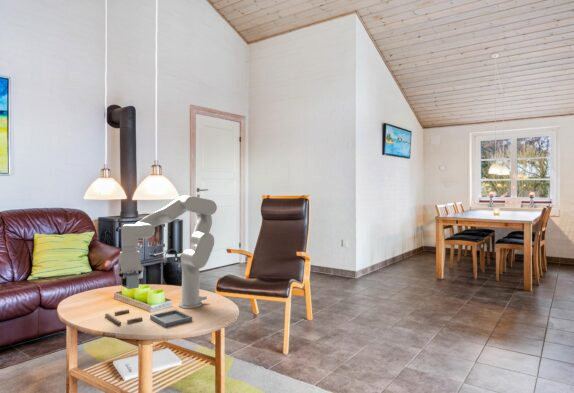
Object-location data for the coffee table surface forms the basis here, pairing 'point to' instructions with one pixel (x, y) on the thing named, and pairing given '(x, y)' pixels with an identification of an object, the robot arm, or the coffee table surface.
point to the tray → (170, 318)
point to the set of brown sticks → (119, 314)
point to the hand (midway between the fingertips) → (130, 284)
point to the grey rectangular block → (132, 280)
